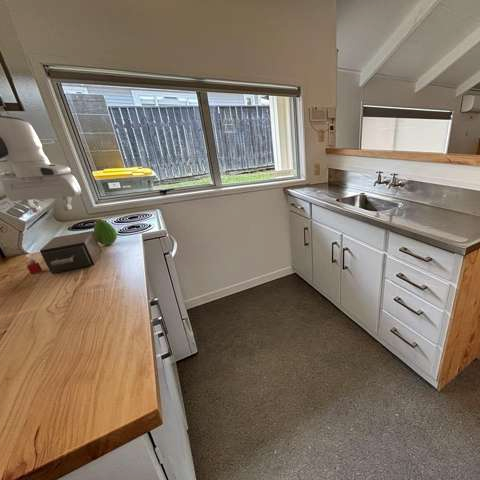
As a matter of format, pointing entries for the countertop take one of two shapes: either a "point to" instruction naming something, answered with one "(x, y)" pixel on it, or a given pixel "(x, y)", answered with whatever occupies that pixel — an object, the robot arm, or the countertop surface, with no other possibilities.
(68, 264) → the drawer
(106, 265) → the countertop surface
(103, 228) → the avocado
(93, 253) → the cabinet
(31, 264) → the doll
